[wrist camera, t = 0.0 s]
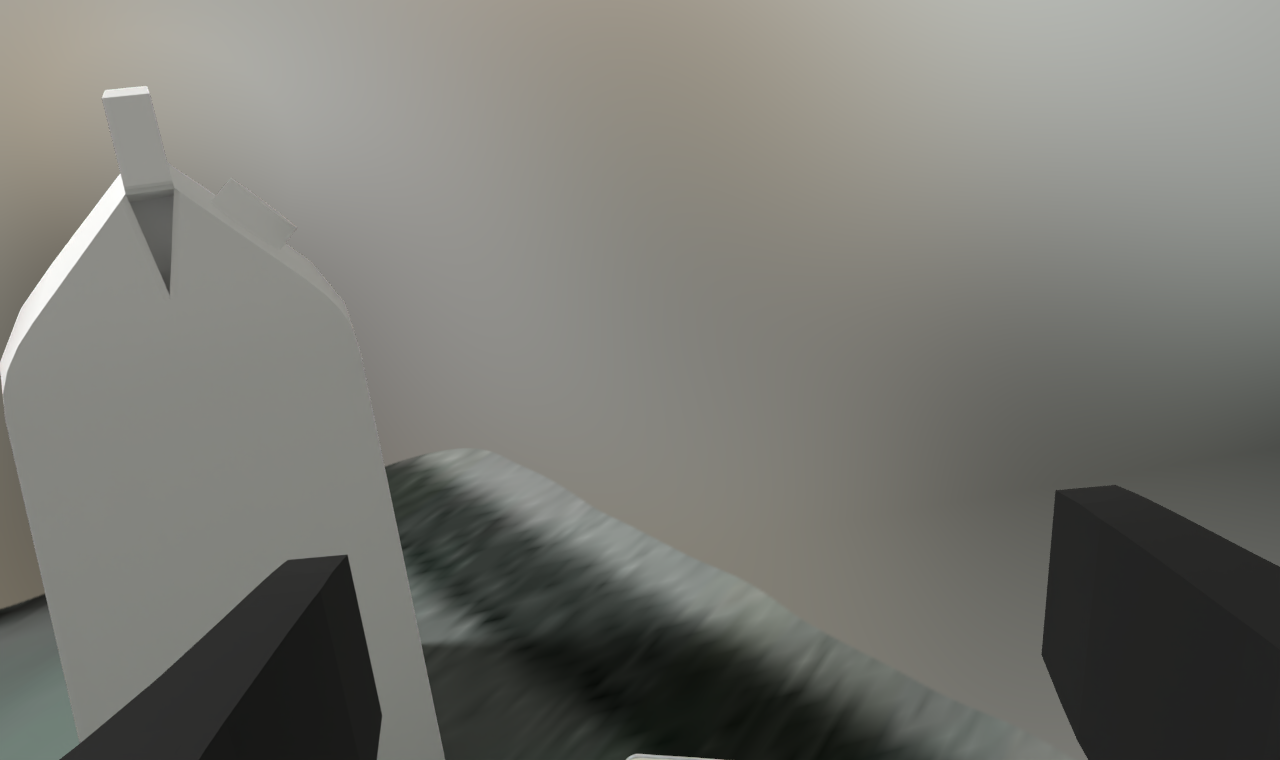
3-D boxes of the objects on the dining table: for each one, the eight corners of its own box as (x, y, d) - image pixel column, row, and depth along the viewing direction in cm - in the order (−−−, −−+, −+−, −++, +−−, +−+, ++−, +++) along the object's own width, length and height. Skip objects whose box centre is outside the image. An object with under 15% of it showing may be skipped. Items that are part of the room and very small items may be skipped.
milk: (120, 722, 48) (-50, 102, 40) (387, 646, 52) (285, 68, 44) (119, 915, 38) (-113, 125, 29) (453, 800, 42) (335, 79, 33)
